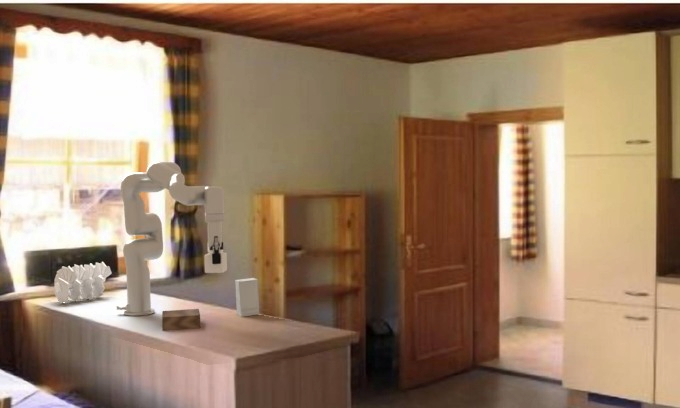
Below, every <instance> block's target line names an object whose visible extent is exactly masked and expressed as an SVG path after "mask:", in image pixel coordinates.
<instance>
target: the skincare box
mask: <svg viewBox="0 0 680 408" xmlns="http://www.w3.org/2000/svg"><path fill="white" fill-rule="evenodd" d="M234 282H235V283H234V285H235V301H236V302H235V303H236V305H235V306H236V315H237V316H239V317H241V318H243V317H248V316H249V317H250V316H257V315H260V299H259V279H257V278H255V277H250V278H241V279H235V280H234Z"/></svg>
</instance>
